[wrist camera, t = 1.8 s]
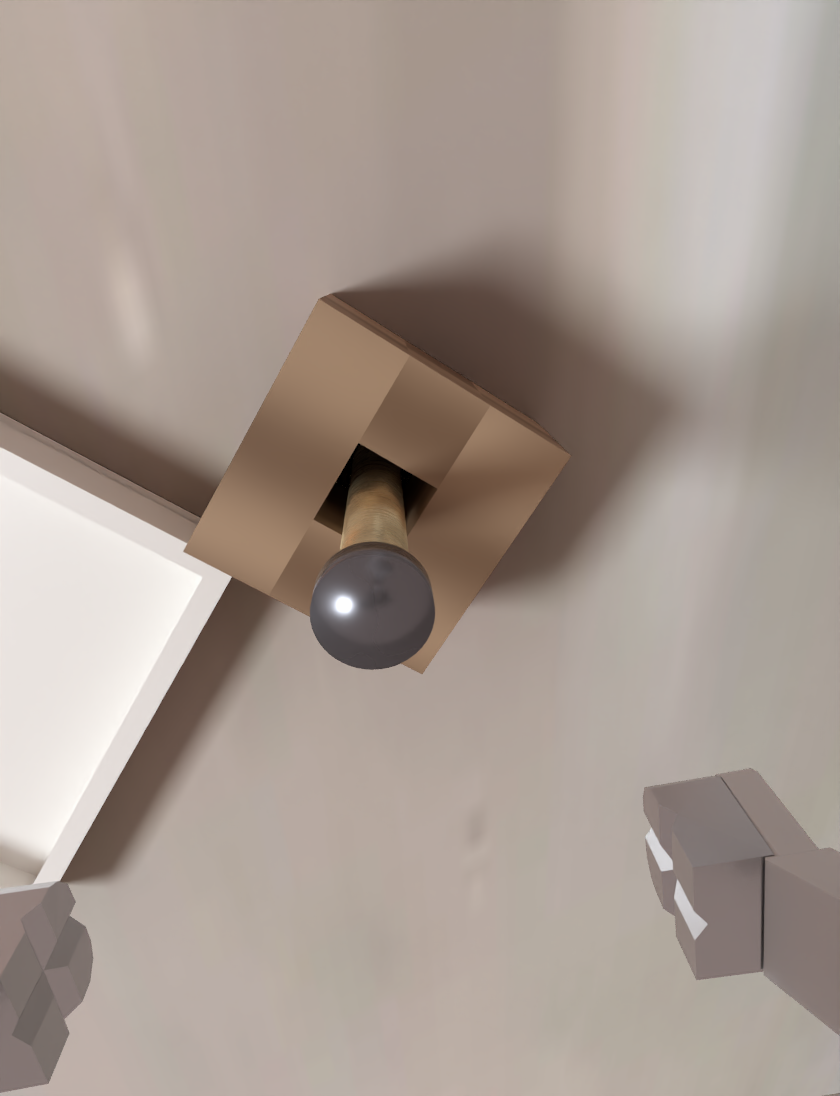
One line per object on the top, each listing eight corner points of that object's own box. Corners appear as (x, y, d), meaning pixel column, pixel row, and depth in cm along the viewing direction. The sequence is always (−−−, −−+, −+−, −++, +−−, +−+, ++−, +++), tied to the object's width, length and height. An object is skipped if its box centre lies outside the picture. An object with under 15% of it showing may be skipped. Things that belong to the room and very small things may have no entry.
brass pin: (363, 415, 31) (349, 533, 17) (424, 451, 32) (458, 593, 18) (328, 475, 32) (287, 634, 18) (388, 508, 33) (394, 688, 19)
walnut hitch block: (330, 293, 29) (318, 298, 24) (537, 423, 32) (571, 455, 26) (217, 502, 32) (183, 551, 27) (415, 608, 34) (422, 674, 29)
